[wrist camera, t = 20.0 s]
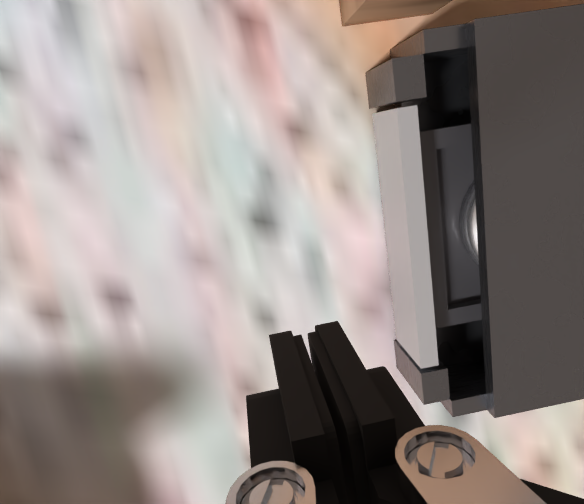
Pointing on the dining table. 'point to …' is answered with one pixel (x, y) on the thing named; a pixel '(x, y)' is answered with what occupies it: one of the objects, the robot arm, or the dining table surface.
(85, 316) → the dining table surface
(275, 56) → the dining table surface
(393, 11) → the block
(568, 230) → the player
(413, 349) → the tray
